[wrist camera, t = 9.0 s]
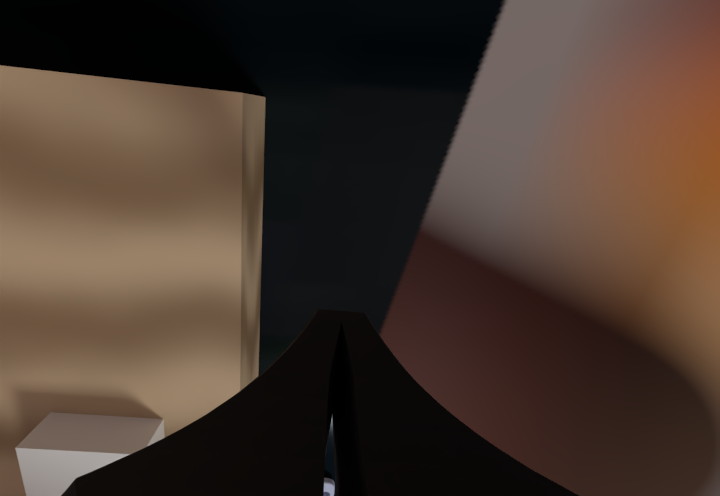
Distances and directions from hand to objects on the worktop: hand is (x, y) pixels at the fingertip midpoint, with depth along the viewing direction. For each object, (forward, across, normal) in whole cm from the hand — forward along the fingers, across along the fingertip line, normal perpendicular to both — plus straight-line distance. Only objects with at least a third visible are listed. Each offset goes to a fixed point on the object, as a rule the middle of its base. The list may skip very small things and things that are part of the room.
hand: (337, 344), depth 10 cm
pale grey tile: (+6, +10, +11) cm, 16 cm away
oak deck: (+10, +10, +4) cm, 15 cm away
